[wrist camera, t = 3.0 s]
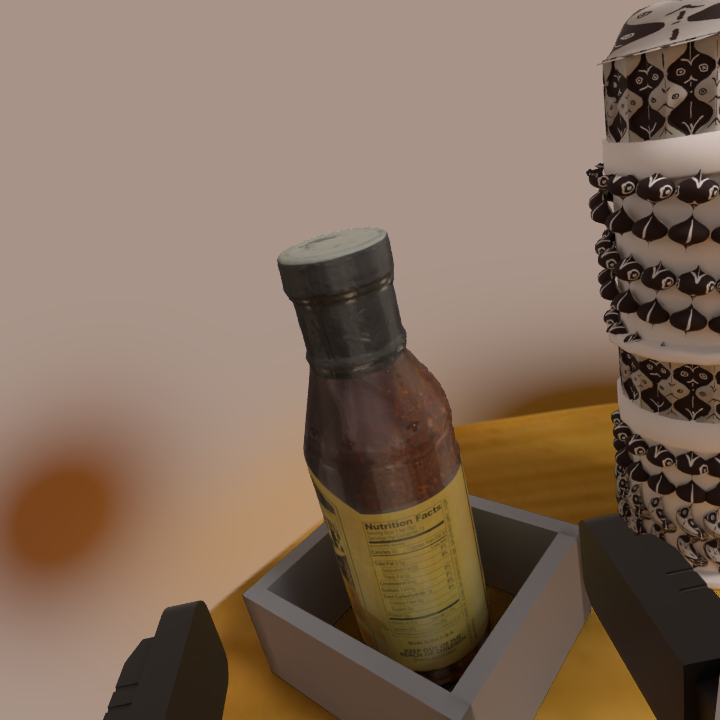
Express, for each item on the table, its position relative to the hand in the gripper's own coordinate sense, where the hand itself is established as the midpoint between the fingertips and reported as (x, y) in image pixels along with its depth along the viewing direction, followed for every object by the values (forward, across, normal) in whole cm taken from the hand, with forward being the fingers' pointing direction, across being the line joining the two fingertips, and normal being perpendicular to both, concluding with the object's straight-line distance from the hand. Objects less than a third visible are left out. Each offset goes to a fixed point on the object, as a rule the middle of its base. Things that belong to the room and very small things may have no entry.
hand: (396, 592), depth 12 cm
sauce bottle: (+12, 0, +14) cm, 18 cm away
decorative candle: (+15, -16, +14) cm, 26 cm away
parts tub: (+12, 0, +14) cm, 18 cm away
